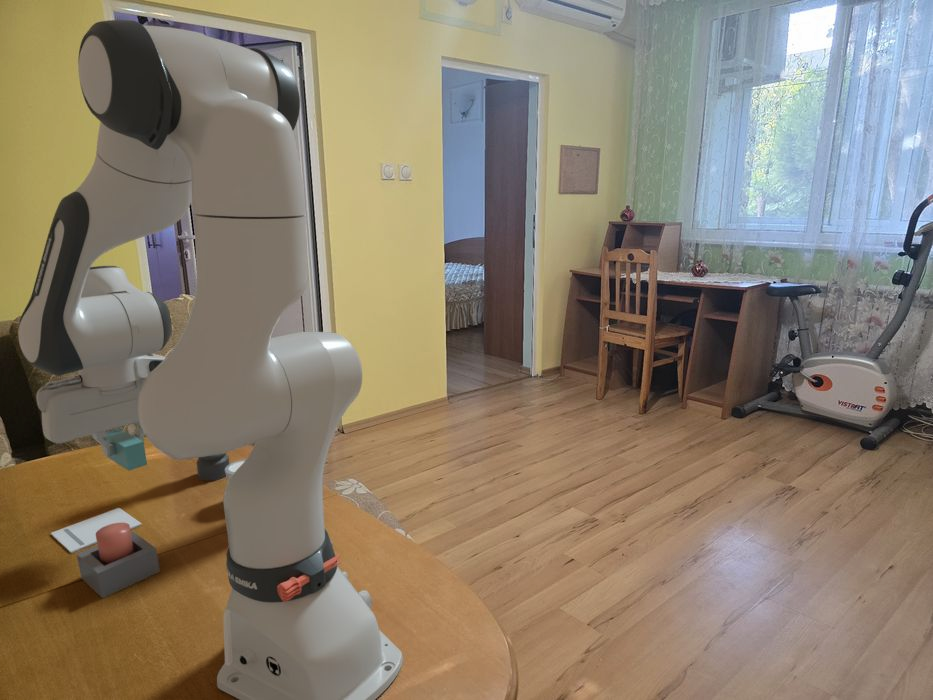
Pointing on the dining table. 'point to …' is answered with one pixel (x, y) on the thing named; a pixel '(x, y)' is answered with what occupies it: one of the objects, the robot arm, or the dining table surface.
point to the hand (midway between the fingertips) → (124, 450)
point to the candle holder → (212, 467)
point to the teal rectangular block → (127, 449)
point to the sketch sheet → (91, 529)
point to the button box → (118, 567)
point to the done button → (114, 542)
